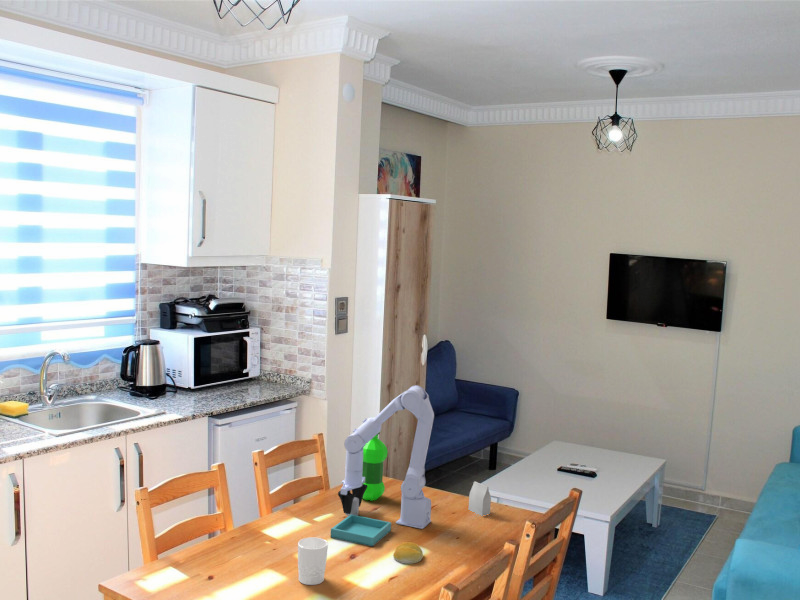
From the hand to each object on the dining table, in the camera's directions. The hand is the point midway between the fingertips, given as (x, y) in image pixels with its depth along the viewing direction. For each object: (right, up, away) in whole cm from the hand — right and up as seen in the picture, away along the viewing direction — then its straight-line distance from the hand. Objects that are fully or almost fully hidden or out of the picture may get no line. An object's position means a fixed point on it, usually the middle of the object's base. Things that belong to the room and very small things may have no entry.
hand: (351, 509), depth 249 cm
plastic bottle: (+5, -1, +16) cm, 17 cm away
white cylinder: (0, -2, 0) cm, 2 cm away
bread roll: (+18, -5, -32) cm, 37 cm away
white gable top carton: (+43, -3, +8) cm, 44 cm away
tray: (+4, -3, -17) cm, 17 cm away
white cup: (-8, -5, -49) cm, 50 cm away
